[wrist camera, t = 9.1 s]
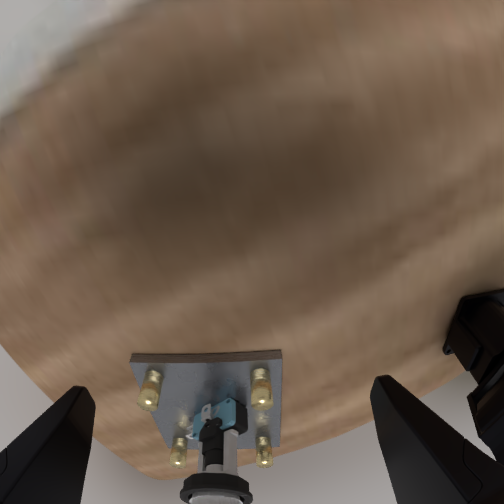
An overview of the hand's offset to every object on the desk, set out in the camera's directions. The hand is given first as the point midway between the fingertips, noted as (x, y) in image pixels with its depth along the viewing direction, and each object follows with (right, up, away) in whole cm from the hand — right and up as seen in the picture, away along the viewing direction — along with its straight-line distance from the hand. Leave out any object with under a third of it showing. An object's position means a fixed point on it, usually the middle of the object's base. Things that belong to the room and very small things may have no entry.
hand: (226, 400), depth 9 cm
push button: (-3, -10, +18) cm, 21 cm away
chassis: (-3, -10, +19) cm, 21 cm away
